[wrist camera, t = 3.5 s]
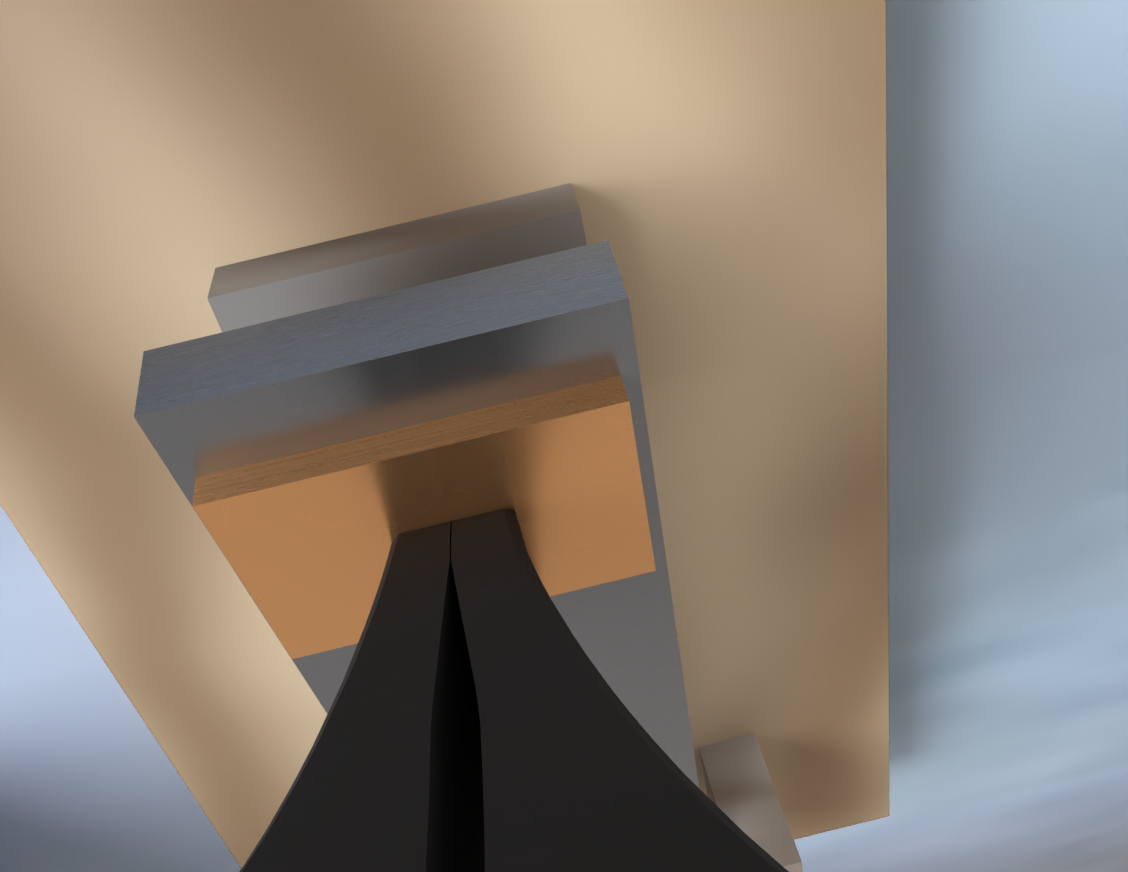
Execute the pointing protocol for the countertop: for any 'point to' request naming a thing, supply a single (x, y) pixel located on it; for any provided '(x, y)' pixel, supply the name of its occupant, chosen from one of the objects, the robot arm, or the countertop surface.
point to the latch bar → (434, 459)
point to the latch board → (452, 248)
